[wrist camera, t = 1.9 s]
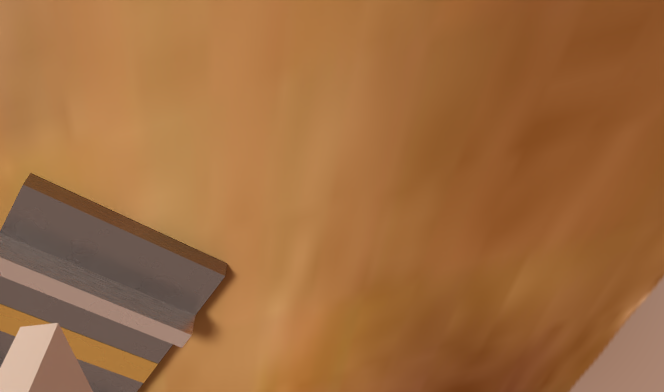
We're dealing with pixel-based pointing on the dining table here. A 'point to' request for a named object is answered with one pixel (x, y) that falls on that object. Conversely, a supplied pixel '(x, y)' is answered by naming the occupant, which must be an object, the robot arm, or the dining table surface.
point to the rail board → (99, 284)
